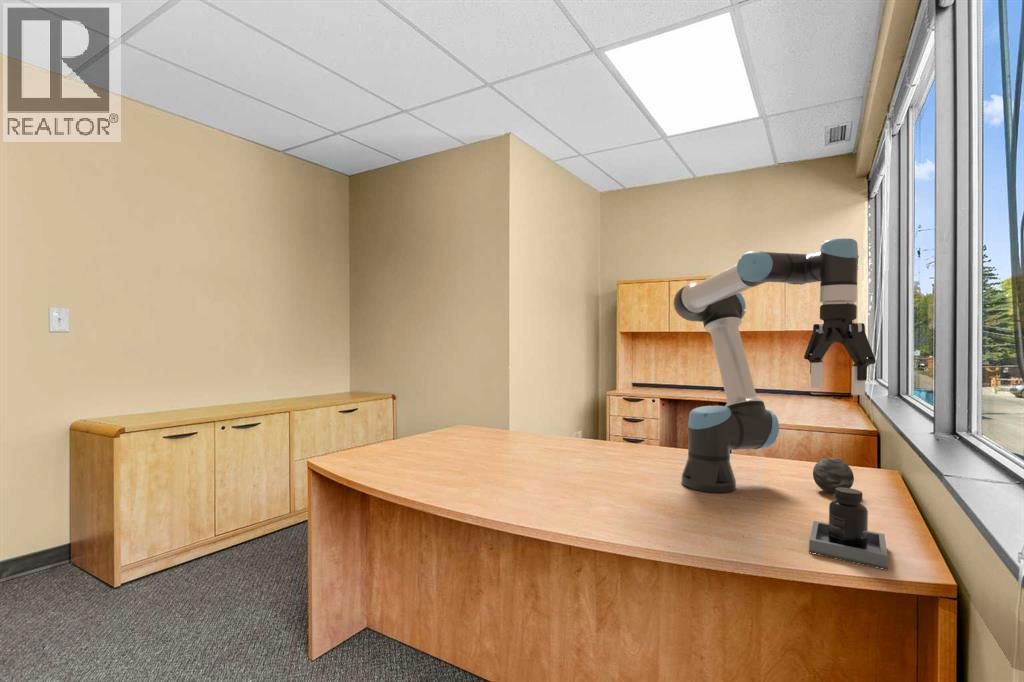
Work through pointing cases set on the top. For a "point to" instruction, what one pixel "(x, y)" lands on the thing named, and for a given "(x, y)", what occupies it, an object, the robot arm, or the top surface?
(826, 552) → the tray
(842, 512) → the supplement bottle
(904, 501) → the top surface
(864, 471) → the top surface
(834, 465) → the decorative stone
